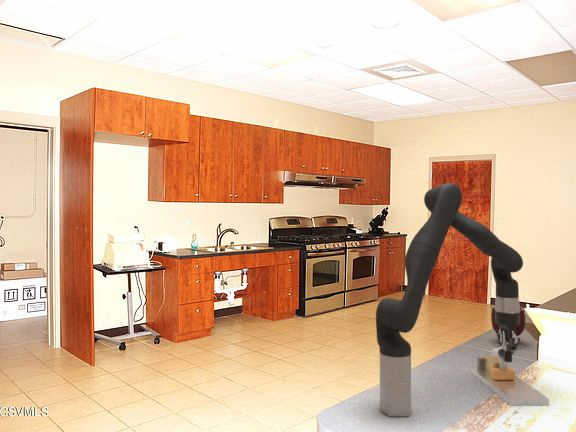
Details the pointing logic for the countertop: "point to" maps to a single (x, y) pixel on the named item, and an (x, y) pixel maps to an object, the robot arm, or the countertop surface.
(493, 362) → the block
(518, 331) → the mate gourd
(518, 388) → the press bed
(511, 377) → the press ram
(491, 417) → the countertop surface
